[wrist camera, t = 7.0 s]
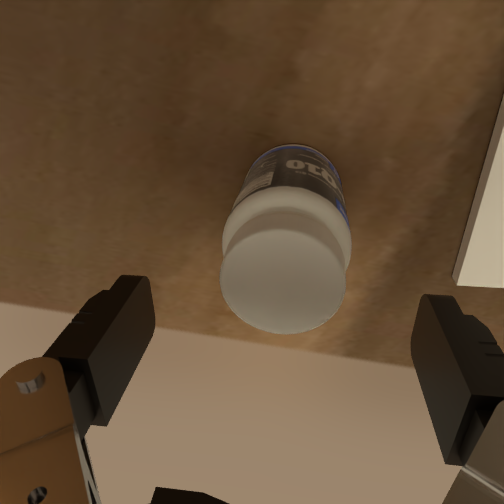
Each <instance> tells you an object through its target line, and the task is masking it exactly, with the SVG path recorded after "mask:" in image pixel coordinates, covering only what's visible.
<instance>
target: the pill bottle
mask: <svg viewBox="0 0 504 504" xmlns="http://www.w3.org/2000/svg"><path fill="white" fill-rule="evenodd" d="M222 250H223V256H224V258H223V262H222V265H221V269H220V287H221V291H222V294H223V297H224V299H225V301H226V303H227V304H228V306H229V307H230V308H231V310H232V311H233V312H234V313H235V314H236V315H237V316H238V317H239V318H240V319H242V320H243V321H244V322H246V323H247V324H249V325H251V326H253V327H255V328H257V329H260V330H263V331H266V332H270V333H276V334H297V333H302V332H306V331H309V330H312V329H314V328H317V327H319V326H320V325H322V324H324V323H325V322H326V321H328V320H329V319H330V318H331V317H332V316H333V315H334V314H335V313H336V312H337V310H338V309H339V307H340V305H341V303H342V301H343V298H344V295H345V290H346V274H345V272H346V270H347V267H348V265H349V262H350V257H351V250H352V240H351V233H350V228H349V222H348V218H347V213H346V207H345V200H344V197H343V190H342V185H341V181H340V178H339V175H338V173H337V171H336V169H335V167H334V166H333V164H332V163H331V162H330V161H329V159H327V158H326V157H325V156H324V155H323V154H322V153H320V152H319V151H317V150H315V149H313V148H311V147H308V146H304V145H297V144H289V145H282V146H278V147H275V148H273V149H271V150H269V151H267V152H265V153H264V154H263V155H261V156H260V157H259V158H258V159H257V160H256V161H255V162H254V163H253V165H252V166H251V168H250V170H249V171H248V174H247V176H246V178H245V180H244V182H243V185H242V187H241V190H240V192H239V194H238V197H237V199H236V201H235V203H234V206H233V208H232V210H231V213H230V215H229V217H228V219H227V221H226V224H225V227H224V231H223V236H222Z"/></svg>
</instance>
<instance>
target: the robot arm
mask: <svg viewBox="0 0 504 504" xmlns="http://www.w3.org/2000/svg"><path fill="white" fill-rule="evenodd" d="M154 329H155V313H154V306H153V300H152V294H151V287H150V282H149V279H148V277H146V276H134V275H121V276H120V277H119V278H118V279H117V280H116V282H115V283H114V284H113V286H112V287H111V288H110V290H102V291H101V292H99V293H98V294H96V295H95V296H93V297H92V298H90V299H89V300H88V301H87V302H86V303H85V305H84V306H83V307H82V308H81V310H80V311H79V313H77V314H76V316H75V317H74V318H73V319H72V322H71V323H69V324H68V326H67V327H66V328H65V329H64V330H63V332H62V333H61V334H60V335H59V337H58V338H57V339H56V340H55V341H54V343H53V344H52V345H51V347H50V348H49V349H48V350H47V351H46V353H45V354H44V355H43V356H42V357H39V358H33V359H29V360H26V361H24V362H21V363H19V364H17V365H16V366H14V367H12V368H11V369H10V370H8V371H7V372H6V373H5V374H4V375H3V376H2V377H1V378H0V504H102V503H101V500H100V496H99V491H98V487H97V483H96V479H95V475H94V471H93V467H92V462H91V458H90V454H89V450H88V446H87V442H86V439H85V434H86V433H87V431H88V429H89V427H90V425H97V426H107V425H108V423H109V421H110V419H111V417H112V415H113V413H114V411H115V409H116V407H117V405H118V403H119V401H120V399H121V397H122V395H123V393H124V391H125V389H126V387H127V386H128V384H129V382H130V380H131V378H132V376H133V374H134V371H135V370H136V368H137V366H138V364H139V362H140V360H141V358H142V356H143V354H144V352H145V350H146V348H147V346H148V344H149V342H150V340H151V338H152V336H153V333H154ZM411 356H412V360H413V363H414V366H415V369H416V373H417V376H418V379H419V382H420V385H421V389H422V391H423V395H424V398H425V401H426V404H427V407H428V411H429V414H430V417H431V420H432V423H433V427H434V430H435V433H436V436H437V439H438V443H439V445H440V449H441V452H442V455H443V458H444V462H445V464H449V465H458V466H463V467H462V468H461V470H460V472H459V473H458V475H457V477H456V479H455V481H454V483H453V484H452V487H451V488H450V490H449V492H448V494H447V496H446V498H445V499H444V501H443V503H442V504H504V353H503V352H502V350H501V348H500V347H499V346H498V345H497V342H496V340H495V338H494V337H493V335H492V333H491V332H490V330H489V328H488V327H486V326H485V325H484V324H483V323H482V322H480V321H479V320H478V319H477V318H476V317H474V316H473V315H464V314H463V313H462V311H461V309H460V307H459V305H458V303H457V302H456V300H455V298H454V297H453V296H446V295H430V294H424V295H422V297H421V299H420V303H419V307H418V311H417V315H416V320H415V324H414V328H413V332H412V336H411ZM150 504H229V503H226V502H224V501H222V500H219V499H217V498H214V497H212V496H210V495H208V494H205V493H202V492H194V491H186V490H177V489H169V488H162V487H161V488H160V487H156V488H155V491H154V494H153V497H152V500H151V503H150Z"/></svg>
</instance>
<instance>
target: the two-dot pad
mask: <svg viewBox="0 0 504 504" xmlns="http://www.w3.org/2000/svg"><path fill="white" fill-rule="evenodd" d="M452 278H453V280H454V281H455V283H456V285H460V286H478V287H495V288H504V95H503V98H502V102H501V105H500V109H499V113H498V116H497V120H496V123H495V127H494V130H493V134H492V137H491V141H490V144H489V148H488V151H487V155H486V158H485V162H484V165H483V169H482V172H481V176H480V179H479V183H478V186H477V190H476V193H475V197H474V200H473V204H472V208H471V211H470V215H469V218H468V222H467V225H466V229H465V232H464V236H463V239H462V243H461V246H460V250H459V253H458V257H457V260H456V264H455V267H454V271H453V274H452Z"/></svg>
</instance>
